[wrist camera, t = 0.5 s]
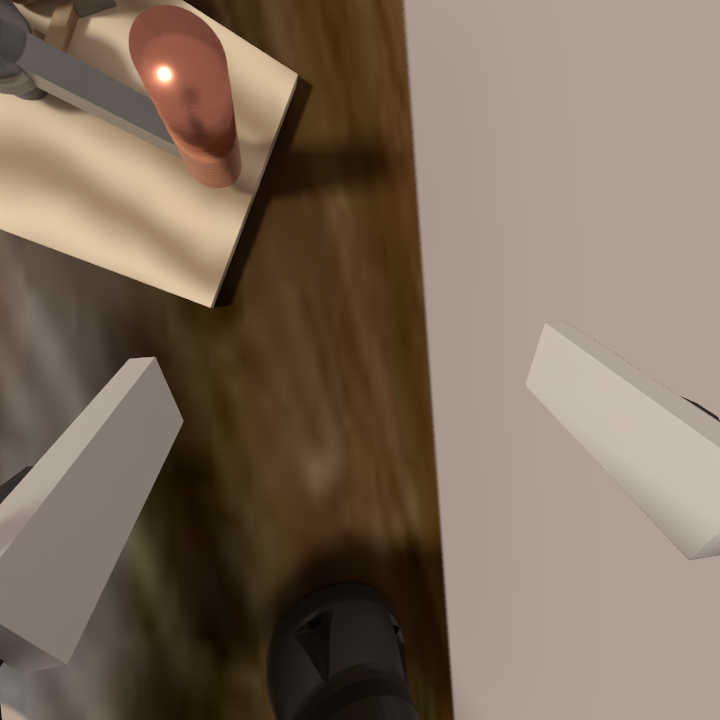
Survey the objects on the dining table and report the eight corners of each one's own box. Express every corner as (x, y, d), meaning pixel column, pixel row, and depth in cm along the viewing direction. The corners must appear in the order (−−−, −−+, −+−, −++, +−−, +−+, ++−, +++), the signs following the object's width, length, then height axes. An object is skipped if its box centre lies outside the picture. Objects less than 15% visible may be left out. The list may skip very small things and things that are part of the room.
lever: (230, 209, 26) (206, 132, 15) (-133, 38, 19) (-633, -316, 9) (252, 151, 26) (243, 32, 15) (-104, -41, 19) (-573, -499, 8)
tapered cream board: (213, 308, 29) (199, 305, 23) (-99, 191, 22) (-240, 142, 16) (296, 85, 28) (305, 20, 22) (5, -99, 22) (-97, -263, 16)
